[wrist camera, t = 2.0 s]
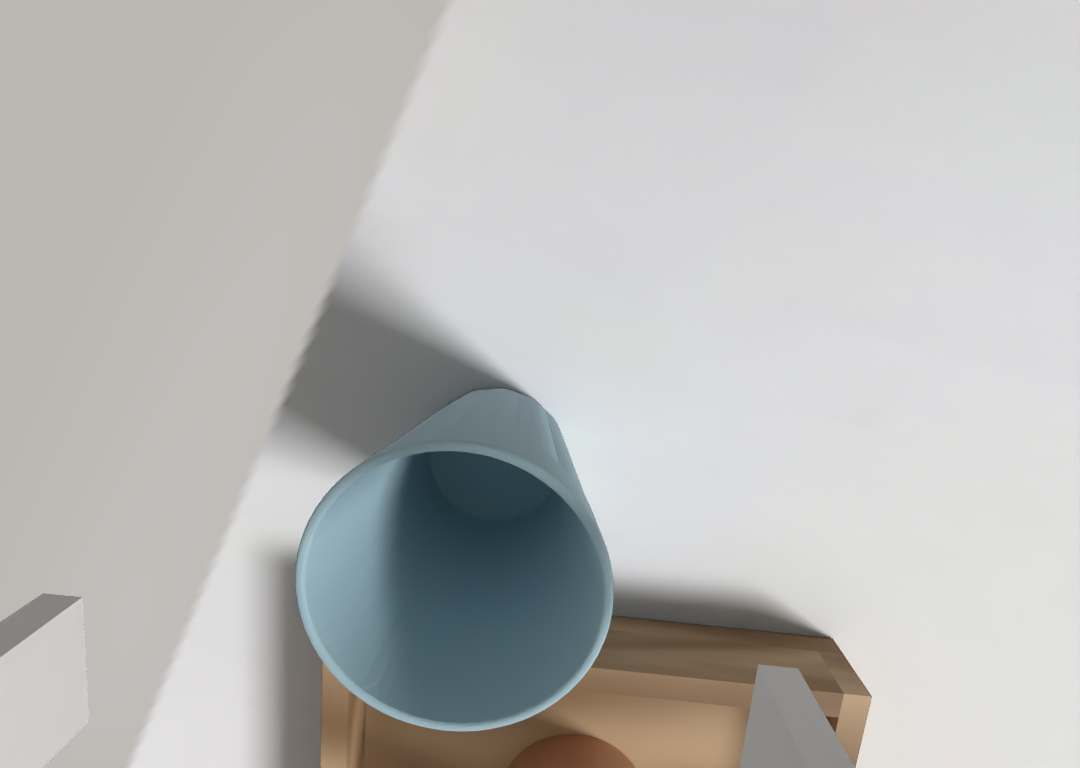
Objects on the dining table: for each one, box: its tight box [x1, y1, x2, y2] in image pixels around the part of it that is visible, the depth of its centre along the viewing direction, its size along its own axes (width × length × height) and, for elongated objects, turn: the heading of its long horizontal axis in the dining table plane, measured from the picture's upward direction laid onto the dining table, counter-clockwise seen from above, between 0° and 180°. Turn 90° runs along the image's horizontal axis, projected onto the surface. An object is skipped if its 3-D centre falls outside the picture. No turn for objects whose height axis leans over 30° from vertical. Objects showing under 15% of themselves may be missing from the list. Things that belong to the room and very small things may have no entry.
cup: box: [295, 388, 614, 731], centre depth 21 cm, size 8×8×10 cm
